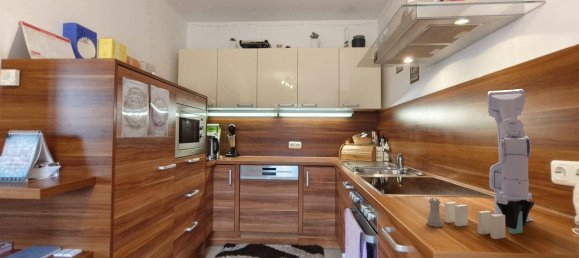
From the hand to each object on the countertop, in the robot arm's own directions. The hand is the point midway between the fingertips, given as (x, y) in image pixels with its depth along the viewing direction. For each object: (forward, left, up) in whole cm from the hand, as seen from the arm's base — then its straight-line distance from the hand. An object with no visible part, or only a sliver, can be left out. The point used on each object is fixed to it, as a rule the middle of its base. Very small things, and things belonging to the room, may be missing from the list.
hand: (515, 226), depth 75 cm
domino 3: (+9, -3, -2) cm, 9 cm away
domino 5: (0, 0, -2) cm, 2 cm away
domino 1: (+9, -13, -2) cm, 16 cm away
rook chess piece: (+17, -12, -2) cm, 21 cm away
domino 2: (+9, -10, -2) cm, 13 cm away
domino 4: (+9, +1, -2) cm, 9 cm away
